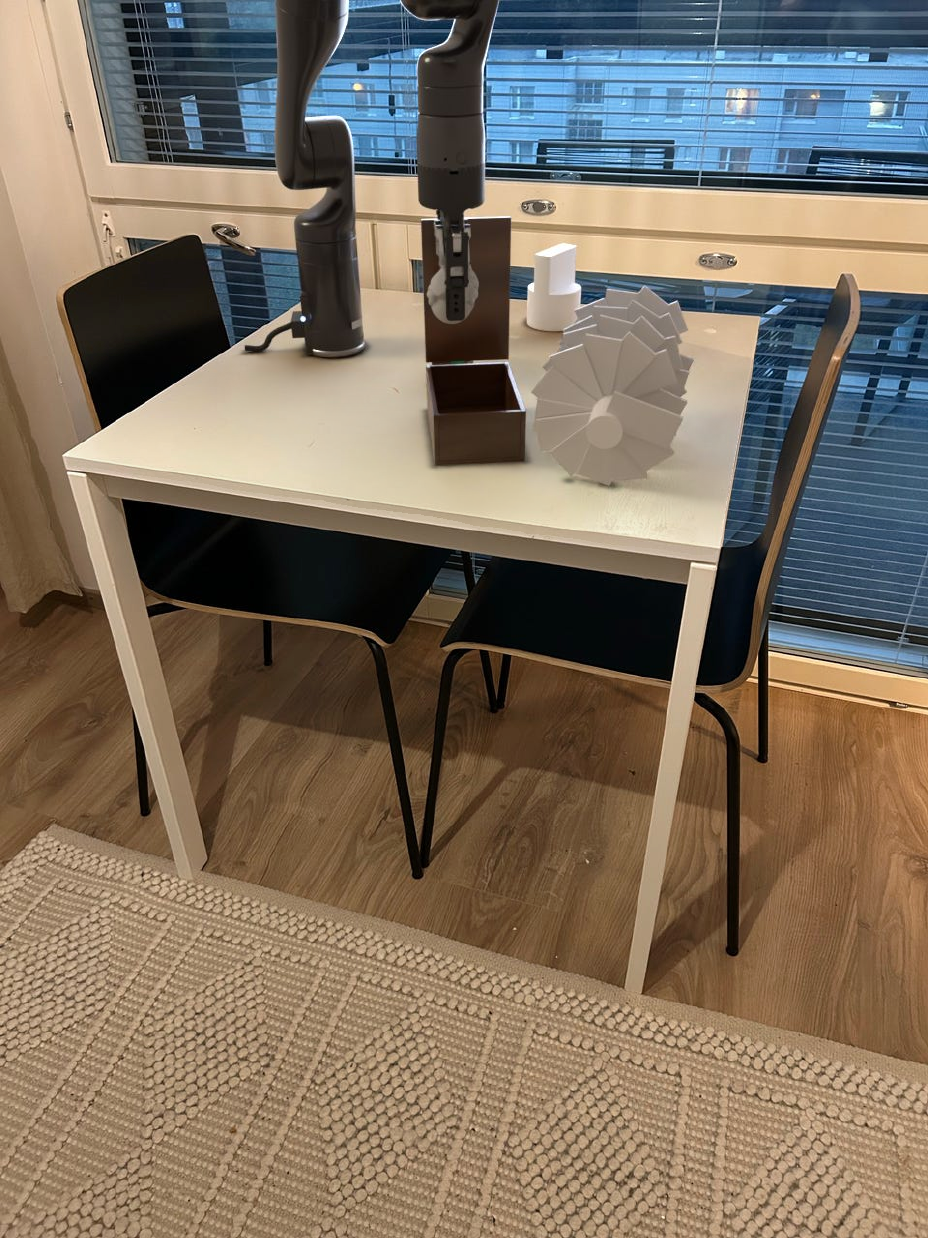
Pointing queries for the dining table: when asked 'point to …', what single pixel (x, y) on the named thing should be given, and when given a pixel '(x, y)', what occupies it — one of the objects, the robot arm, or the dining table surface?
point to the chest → (475, 414)
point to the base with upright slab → (554, 289)
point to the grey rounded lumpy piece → (439, 295)
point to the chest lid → (490, 314)
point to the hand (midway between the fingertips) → (452, 309)
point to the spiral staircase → (614, 388)
